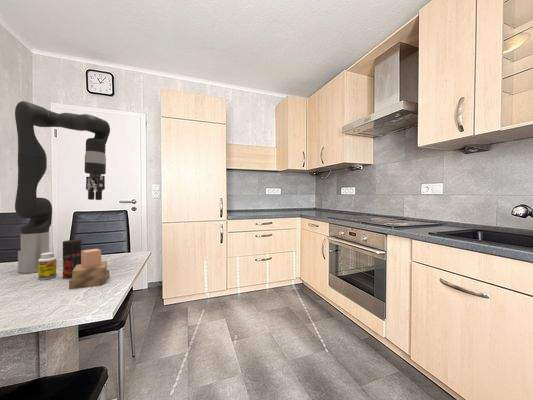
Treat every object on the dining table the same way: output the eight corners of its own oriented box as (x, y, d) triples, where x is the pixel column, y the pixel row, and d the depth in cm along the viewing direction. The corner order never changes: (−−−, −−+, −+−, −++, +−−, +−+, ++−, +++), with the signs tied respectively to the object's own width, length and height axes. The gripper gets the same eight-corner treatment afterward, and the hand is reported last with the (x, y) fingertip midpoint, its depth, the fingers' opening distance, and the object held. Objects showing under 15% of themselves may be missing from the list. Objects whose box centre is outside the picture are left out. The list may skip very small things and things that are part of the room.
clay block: (85, 268, 87) (85, 252, 87) (81, 266, 90) (81, 250, 89) (101, 265, 91) (101, 250, 91) (96, 263, 94) (96, 248, 94)
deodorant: (84, 275, 99) (84, 240, 99) (68, 279, 93) (68, 242, 93) (75, 273, 101) (75, 239, 101) (59, 278, 95) (59, 241, 95)
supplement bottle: (36, 281, 91) (35, 255, 91) (39, 277, 96) (39, 252, 96) (54, 278, 94) (54, 253, 94) (57, 274, 99) (57, 251, 99)
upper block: (72, 281, 83) (72, 271, 83) (76, 273, 92) (76, 264, 92) (106, 275, 89) (106, 266, 89) (106, 269, 97) (106, 261, 97)
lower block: (69, 290, 84) (68, 280, 84) (80, 281, 93) (80, 272, 93) (101, 286, 87) (101, 277, 87) (109, 278, 96) (109, 269, 96)
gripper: (112, 162, 100) (111, 200, 100) (99, 165, 109) (98, 199, 109) (91, 160, 94) (90, 200, 94) (79, 162, 102) (78, 199, 102)
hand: (94, 199), depth 101 cm, fingers open, 8 cm apart
